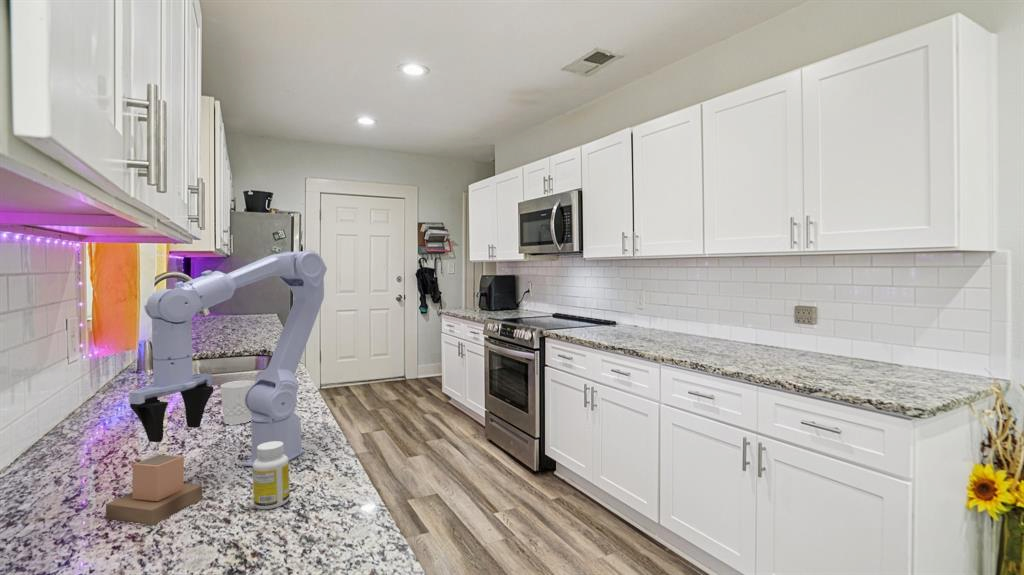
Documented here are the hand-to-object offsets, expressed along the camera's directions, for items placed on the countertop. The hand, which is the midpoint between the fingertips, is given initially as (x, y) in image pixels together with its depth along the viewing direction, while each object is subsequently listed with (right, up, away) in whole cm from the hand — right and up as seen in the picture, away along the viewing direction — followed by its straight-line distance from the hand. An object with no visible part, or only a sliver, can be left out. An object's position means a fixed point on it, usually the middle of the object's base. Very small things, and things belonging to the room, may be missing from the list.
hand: (175, 433), depth 86 cm
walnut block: (+1, -11, -6) cm, 13 cm away
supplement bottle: (+19, -11, -4) cm, 22 cm away
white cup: (-12, -9, +41) cm, 44 cm away
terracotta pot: (+1, -8, -6) cm, 10 cm away
